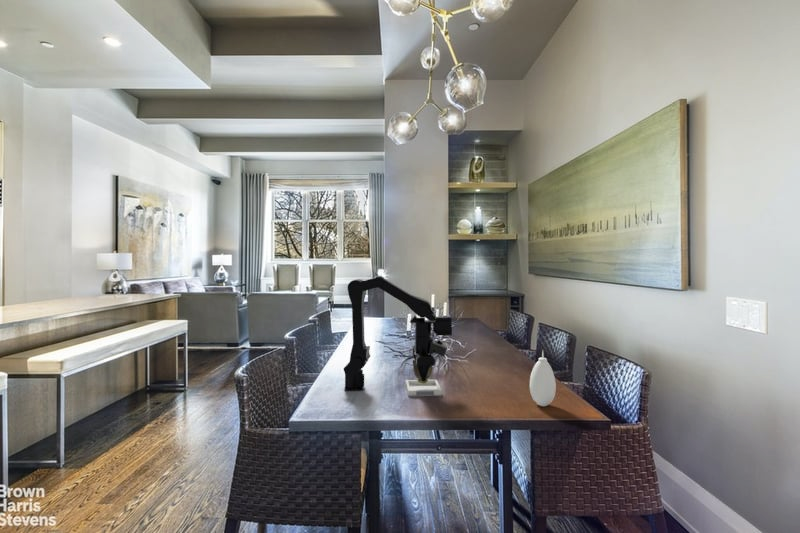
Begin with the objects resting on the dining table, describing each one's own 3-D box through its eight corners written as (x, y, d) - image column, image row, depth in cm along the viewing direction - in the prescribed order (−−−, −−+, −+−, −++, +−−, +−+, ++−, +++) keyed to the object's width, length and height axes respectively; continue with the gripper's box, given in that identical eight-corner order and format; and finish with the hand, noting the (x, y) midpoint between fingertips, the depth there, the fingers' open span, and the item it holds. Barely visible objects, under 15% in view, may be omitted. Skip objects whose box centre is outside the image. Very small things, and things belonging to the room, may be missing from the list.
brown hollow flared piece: (409, 384, 135) (409, 361, 135) (416, 378, 142) (416, 357, 142) (429, 387, 133) (429, 364, 132) (435, 381, 139) (435, 359, 139)
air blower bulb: (525, 401, 127) (526, 347, 127) (548, 400, 128) (549, 347, 128) (535, 410, 120) (536, 353, 119) (559, 409, 120) (560, 352, 120)
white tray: (408, 396, 131) (408, 390, 131) (405, 385, 143) (405, 380, 143) (441, 396, 132) (441, 390, 132) (436, 384, 144) (436, 379, 144)
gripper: (450, 340, 128) (449, 386, 129) (440, 330, 147) (440, 370, 147) (417, 340, 128) (416, 387, 128) (412, 330, 146) (411, 370, 147)
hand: (422, 378), depth 137 cm, fingers closed on brown hollow flared piece, 6 cm apart
